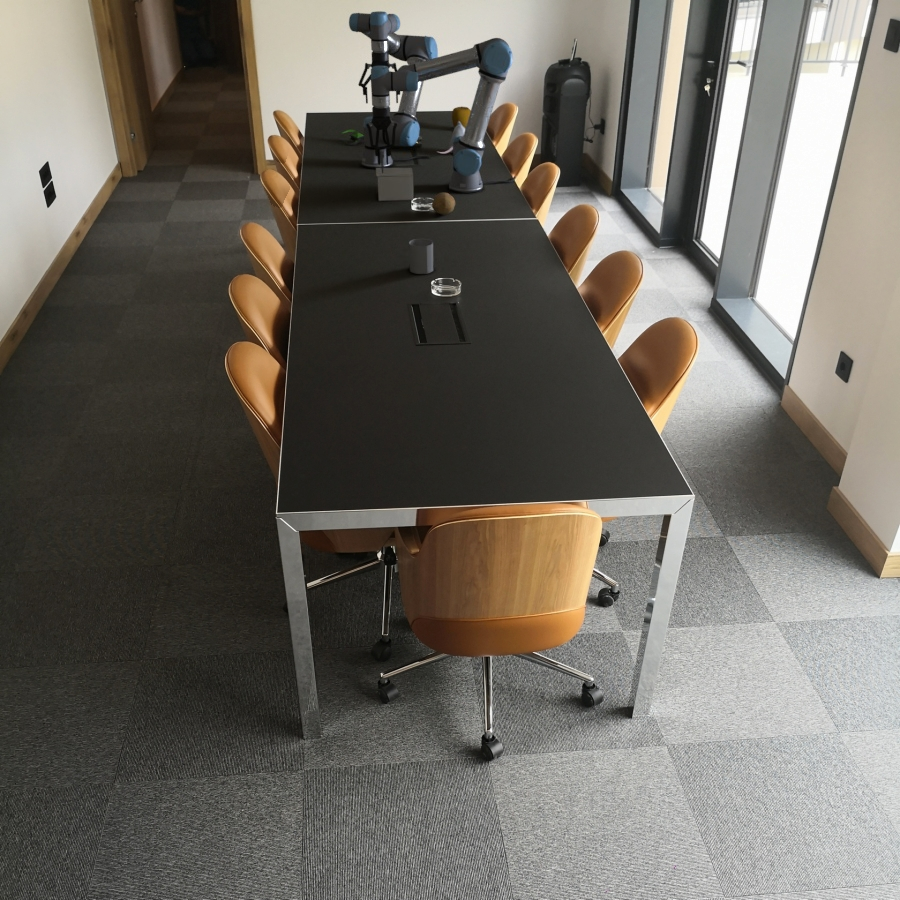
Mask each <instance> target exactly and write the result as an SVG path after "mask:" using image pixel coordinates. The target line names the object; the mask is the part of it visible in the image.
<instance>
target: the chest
mask: <svg viewBox="0 0 900 900" xmlns="http://www.w3.org/2000/svg"><path fill="white" fill-rule="evenodd" d="M377 194H378V195H377V196H378V197H377V198H378V201H379V202H382V201H385V202H386V201H414V200H413V199H414V175H413V176H377Z"/></svg>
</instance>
